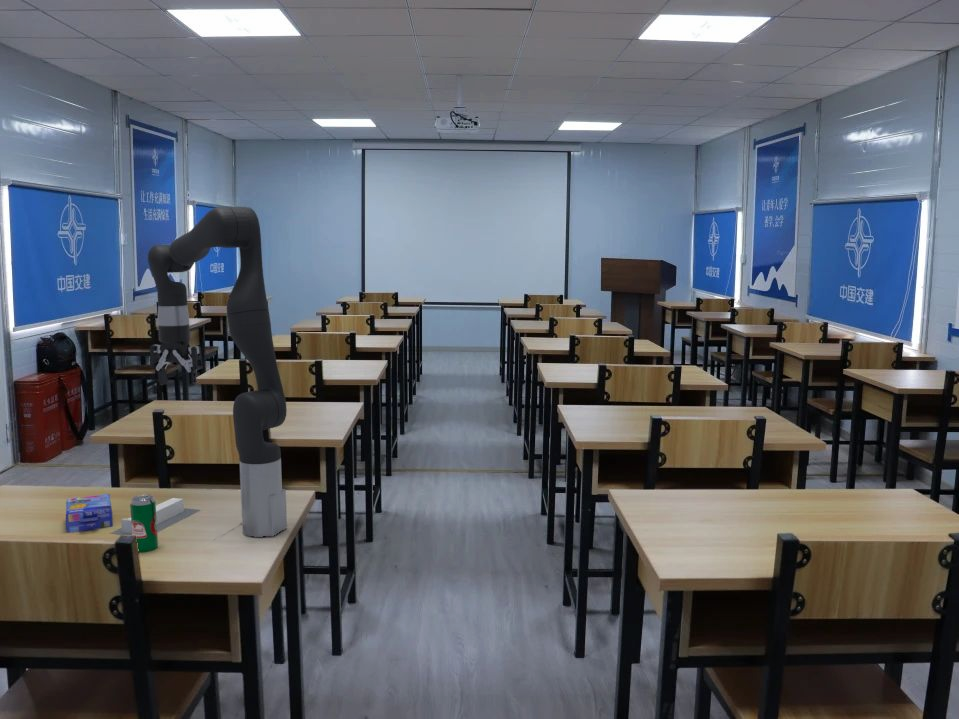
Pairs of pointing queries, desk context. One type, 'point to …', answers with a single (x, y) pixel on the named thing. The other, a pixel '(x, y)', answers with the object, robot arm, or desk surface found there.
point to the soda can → (144, 522)
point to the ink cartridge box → (88, 513)
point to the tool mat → (166, 521)
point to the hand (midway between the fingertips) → (177, 385)
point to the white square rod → (159, 513)
